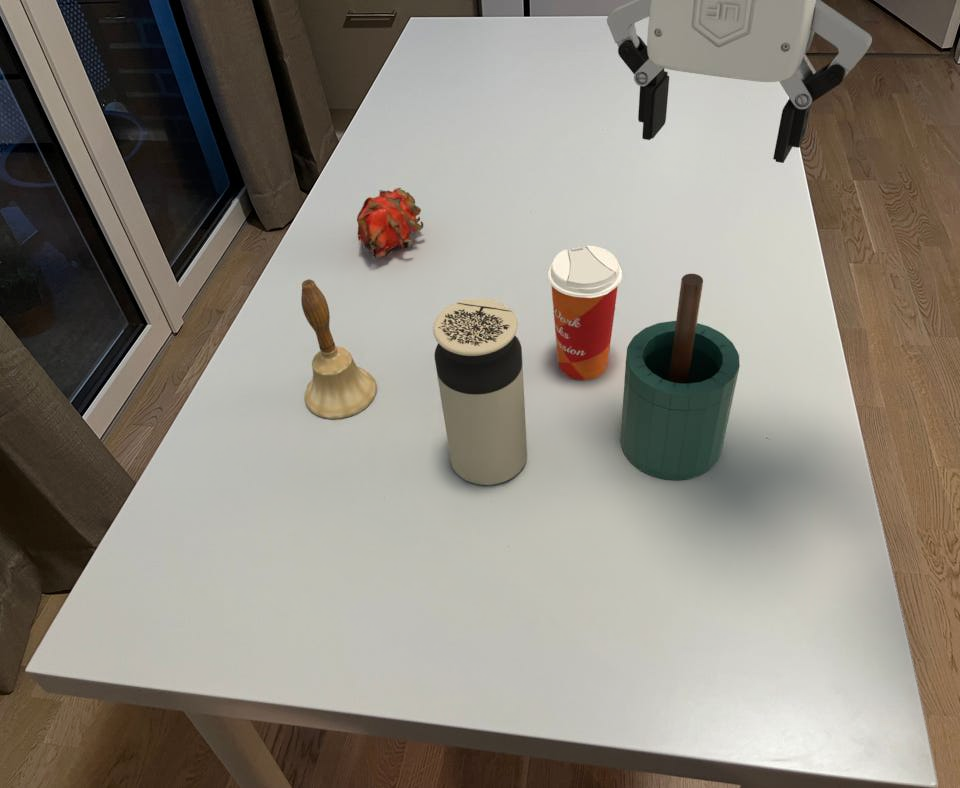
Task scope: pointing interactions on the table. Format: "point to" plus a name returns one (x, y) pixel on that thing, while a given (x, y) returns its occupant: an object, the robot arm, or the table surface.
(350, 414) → the hand bell
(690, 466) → the jar
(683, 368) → the peg on round base
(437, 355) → the travel mug
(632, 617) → the table surface
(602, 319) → the paper cup
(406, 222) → the dragon fruit
